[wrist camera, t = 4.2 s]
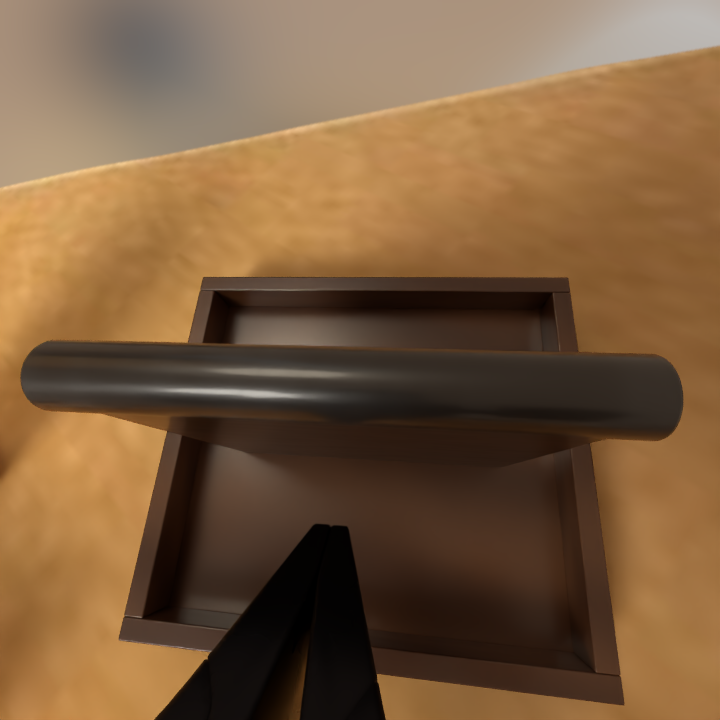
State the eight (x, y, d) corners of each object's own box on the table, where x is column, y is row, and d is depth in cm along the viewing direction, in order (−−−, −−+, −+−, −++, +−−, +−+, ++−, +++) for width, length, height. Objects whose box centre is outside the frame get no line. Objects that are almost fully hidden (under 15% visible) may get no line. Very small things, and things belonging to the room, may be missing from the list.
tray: (588, 671, 15) (1236, 1287, 3) (158, 619, 17) (-352, 882, 5) (548, 303, 20) (743, 48, 9) (224, 300, 22) (36, 94, 11)
